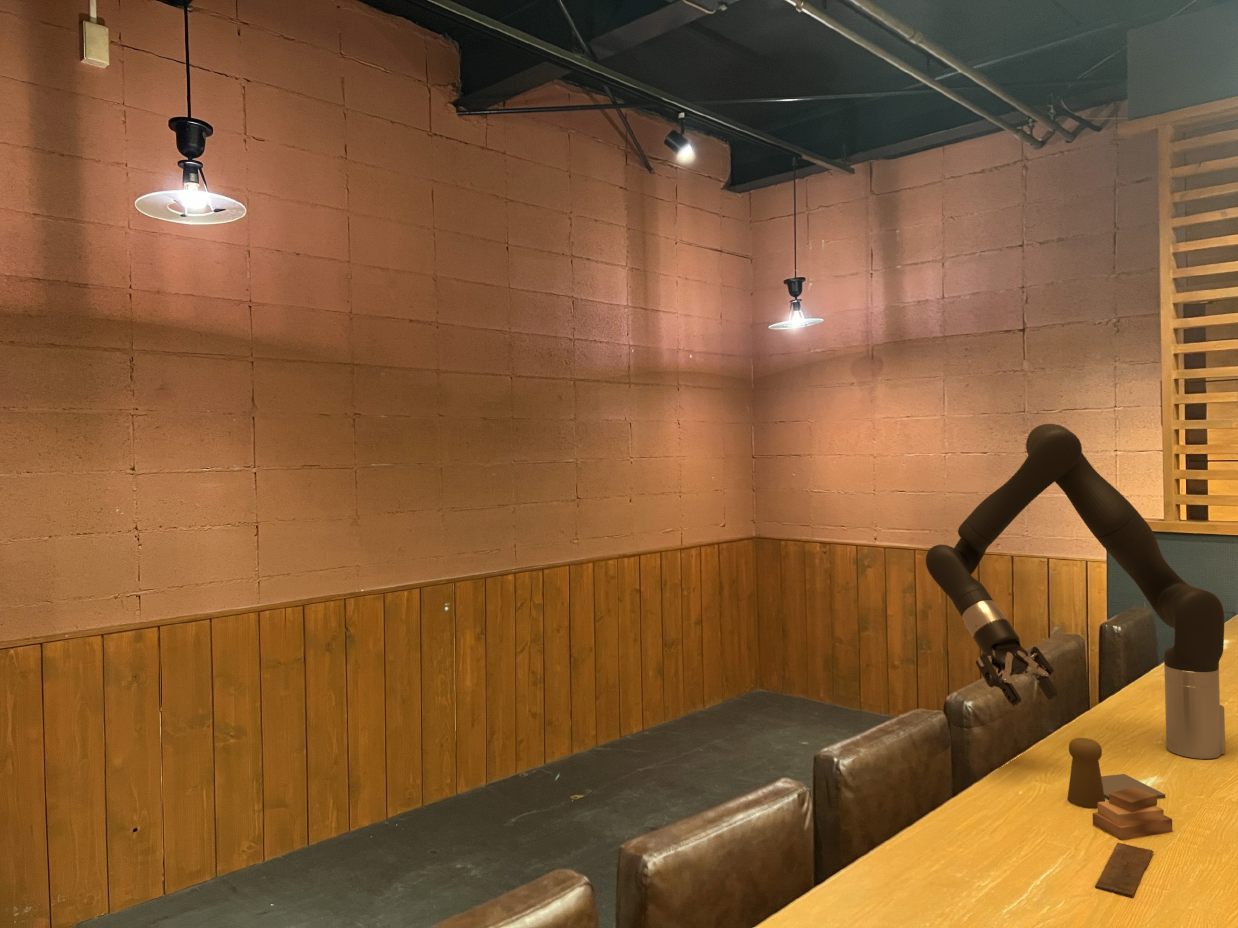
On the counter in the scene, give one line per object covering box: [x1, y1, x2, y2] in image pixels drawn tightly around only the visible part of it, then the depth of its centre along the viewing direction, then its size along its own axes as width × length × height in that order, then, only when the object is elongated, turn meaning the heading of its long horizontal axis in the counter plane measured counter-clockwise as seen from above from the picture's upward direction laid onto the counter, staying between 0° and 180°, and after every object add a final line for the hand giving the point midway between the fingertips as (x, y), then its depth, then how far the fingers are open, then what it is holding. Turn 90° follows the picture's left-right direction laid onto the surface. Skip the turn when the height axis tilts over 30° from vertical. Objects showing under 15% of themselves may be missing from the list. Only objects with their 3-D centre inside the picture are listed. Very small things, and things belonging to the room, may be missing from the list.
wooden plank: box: [1094, 842, 1154, 899], centre depth 132 cm, size 17×1×5 cm
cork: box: [1067, 737, 1106, 810], centre depth 156 cm, size 6×6×11 cm
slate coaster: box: [1101, 773, 1166, 801], centre depth 161 cm, size 10×10×1 cm
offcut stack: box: [1091, 787, 1173, 841], centre depth 145 cm, size 10×6×5 cm, turn 104°
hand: (1035, 700), depth 166 cm, fingers open, 8 cm apart
